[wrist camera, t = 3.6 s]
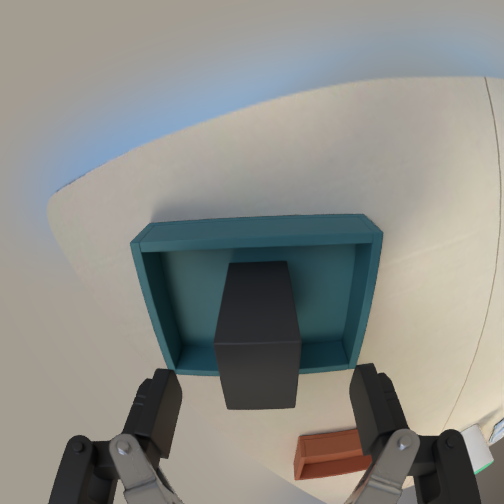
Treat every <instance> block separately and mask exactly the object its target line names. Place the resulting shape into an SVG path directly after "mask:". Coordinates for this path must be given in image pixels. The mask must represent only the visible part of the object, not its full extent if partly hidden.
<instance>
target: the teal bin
mask: <svg viewBox="0 0 504 504" xmlns="http://www.w3.org/2000/svg"><path fill="white" fill-rule="evenodd" d="M382 240H383V232H382V231H381V230H380V229H379V228H378V227H377V226H376V225H375V224H374V223H373V222H372V221H371V220H370V219H369V218H368V217H367V216H365V215H364V214H329V215H290V216H262V217H240V218H221V219H204V220H188V221H173V222H160V223H149V224H148V225H147V226H146V227H145V228H144V229H143V230H142V231H141V232H140V233H139V234H138V235H137V236H136V237H135V238H134V239H133V240H132V241H131V242H130V246H131V251H132V255H133V259H134V263H135V267H136V271H137V275H138V278H139V282H140V286H141V289H142V293H143V296H144V300H145V303H146V306H147V309H148V313H149V316H150V319H151V322H152V325H153V328H154V331H155V334H156V337H157V340H158V343H159V346H160V349H161V351H162V354H163V357H164V360H165V362H166V365H167V368H168V369H172V370H174V371H175V374H179V375H197V376H220V375H219V371H218V366H217V361H216V356H215V351H214V346H213V341H214V336H215V330H216V325H217V320H218V315H219V310H220V305H221V300H222V295H223V289H224V284H225V280H226V275H227V270H228V265H229V263H239V262H265V261H287V264H288V269H289V274H290V280H291V285H292V290H293V296H294V301H295V307H296V312H297V318H298V324H299V329H300V335H301V341H302V342H301V354H300V366H299V374H309V373H320V372H330V371H339V370H347V369H355V367H356V364H357V361H358V357H359V354H360V350H361V346H362V343H363V339H364V335H365V331H366V326H367V322H368V318H369V313H370V309H371V304H372V299H373V295H374V289H375V284H376V279H377V273H378V267H379V261H380V254H381V248H382Z"/></svg>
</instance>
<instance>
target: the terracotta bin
mask: <svg viewBox="0 0 504 504" xmlns="http://www.w3.org/2000/svg"><path fill="white" fill-rule="evenodd" d="M371 462H372V458H371V455H367V456H363V452H362V448H361V443H360V438H359V434H358V429H353V430H347V431H341V432H334V433H326V434H318V435H308V436H299V439H298V445H297V450H296V455H295V460H294V477H295V480H305V479H314V478H322V477H329V476H336V475H342V474H347V473H353V472H358V471H362V470H367V468H368V467H369V465H370V463H371Z"/></svg>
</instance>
